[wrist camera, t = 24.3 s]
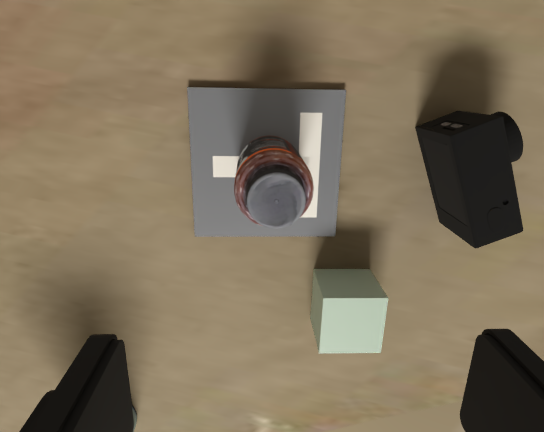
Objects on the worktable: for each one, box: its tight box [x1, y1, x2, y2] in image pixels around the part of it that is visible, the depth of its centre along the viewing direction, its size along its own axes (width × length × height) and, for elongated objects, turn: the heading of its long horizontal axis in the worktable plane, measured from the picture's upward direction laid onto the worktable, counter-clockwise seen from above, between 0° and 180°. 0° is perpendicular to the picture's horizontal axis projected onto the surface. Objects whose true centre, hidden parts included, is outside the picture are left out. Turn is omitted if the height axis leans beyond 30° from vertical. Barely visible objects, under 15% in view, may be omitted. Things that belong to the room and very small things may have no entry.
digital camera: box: [415, 111, 523, 248], centre depth 35 cm, size 10×5×7 cm, turn 21°
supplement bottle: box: [234, 136, 314, 229], centre depth 31 cm, size 6×6×11 cm
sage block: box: [310, 269, 388, 353], centre depth 39 cm, size 6×6×6 cm
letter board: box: [187, 87, 346, 236], centre depth 37 cm, size 14×14×1 cm
